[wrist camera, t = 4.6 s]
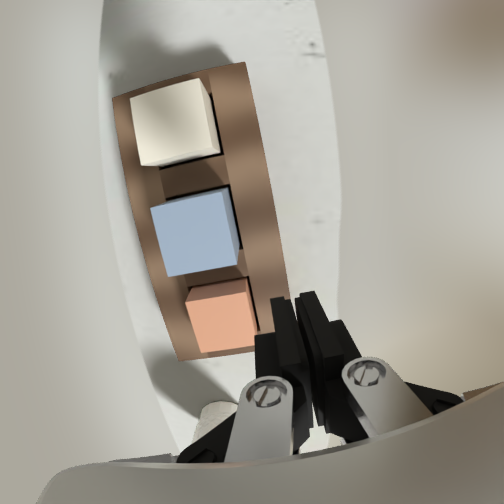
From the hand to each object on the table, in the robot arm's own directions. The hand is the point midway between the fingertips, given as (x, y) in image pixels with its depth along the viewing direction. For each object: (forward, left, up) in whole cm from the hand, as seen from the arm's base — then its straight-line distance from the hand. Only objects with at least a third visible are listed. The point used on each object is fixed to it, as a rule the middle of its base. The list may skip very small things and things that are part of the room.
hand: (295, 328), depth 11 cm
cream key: (-10, -5, -16) cm, 20 cm away
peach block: (+6, -5, -18) cm, 19 cm away
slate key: (-2, -5, -16) cm, 17 cm away
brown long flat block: (-2, -5, -20) cm, 20 cm away
